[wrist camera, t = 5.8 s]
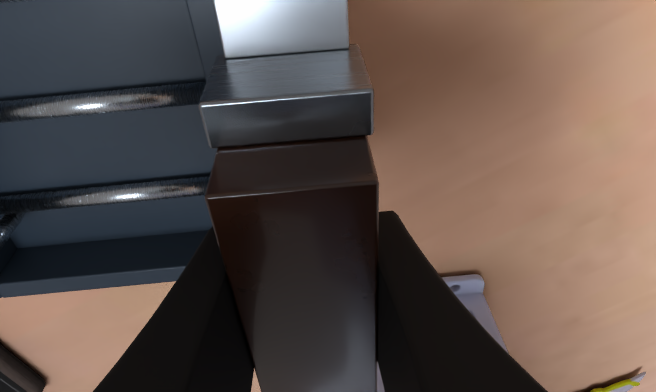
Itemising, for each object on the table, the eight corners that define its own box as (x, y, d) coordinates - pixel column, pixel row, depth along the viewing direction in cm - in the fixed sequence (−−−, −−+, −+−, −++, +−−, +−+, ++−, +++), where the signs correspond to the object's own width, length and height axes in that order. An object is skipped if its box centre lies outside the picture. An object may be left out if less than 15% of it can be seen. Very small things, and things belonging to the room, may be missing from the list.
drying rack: (153, -422, 9) (70, -580, 6) (277, 225, 20) (273, 300, 17) (-416, -369, 9) (-825, -495, 6) (17, 250, 20) (-39, 330, 17)
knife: (269, 298, 12) (262, 415, 10) (112, -412, 5) (-80, -694, 2) (363, 290, 12) (381, 404, 10) (349, -429, 5) (406, -724, 2)
